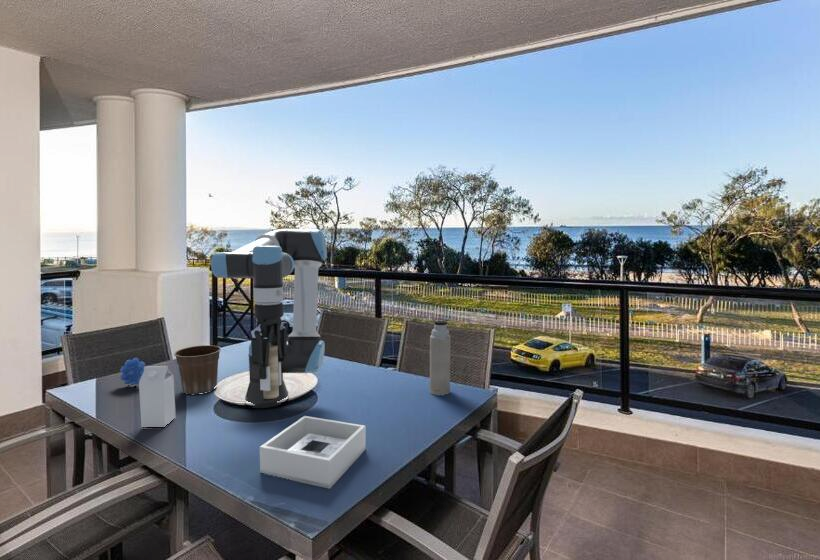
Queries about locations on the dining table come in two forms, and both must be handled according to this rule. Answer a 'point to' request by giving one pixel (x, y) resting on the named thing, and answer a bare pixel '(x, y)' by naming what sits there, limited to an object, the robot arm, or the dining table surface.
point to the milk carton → (157, 396)
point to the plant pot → (198, 368)
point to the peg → (273, 373)
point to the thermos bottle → (440, 359)
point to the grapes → (132, 371)
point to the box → (310, 466)
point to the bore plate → (317, 445)
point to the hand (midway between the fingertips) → (271, 387)
